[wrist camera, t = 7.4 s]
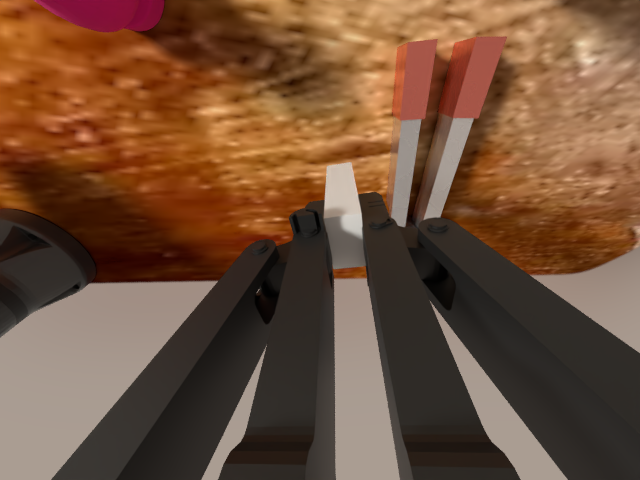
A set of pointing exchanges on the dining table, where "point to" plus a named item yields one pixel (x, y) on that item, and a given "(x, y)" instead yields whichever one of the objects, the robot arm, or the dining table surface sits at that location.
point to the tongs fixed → (455, 120)
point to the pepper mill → (108, 13)
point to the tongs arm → (408, 120)
